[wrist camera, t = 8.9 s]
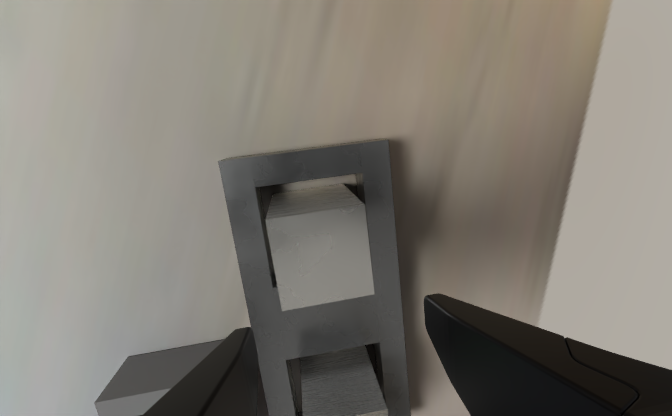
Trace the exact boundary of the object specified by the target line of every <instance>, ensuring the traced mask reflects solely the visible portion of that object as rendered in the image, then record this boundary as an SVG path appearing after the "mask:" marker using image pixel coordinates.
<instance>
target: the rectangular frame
mask: <svg viewBox="0 0 672 416" xmlns="http://www.w3.org/2000/svg"><path fill="white" fill-rule="evenodd" d="M218 163H219V168H220V173H221V178H222V183H223V188H224V193H225V198H226V203H227V208H228V213H229V218H230V223H231V228H232V233H233V238H234V243H235V248H236V253H237V258H238V263H239V268H240V273H241V278H242V283H243V288H244V293H245V298H246V303H247V308H248V313H249V318H250V323H251V328H252V330H253V333H254V338H255V343H256V348H257V353H258V363H259V368H260V373H261V378H262V383H263V388H264V393H265V398H266V403H267V408H268V413H269V416H303V411H301V412H299V411H298V405H297V399H296V393H295V388H294V382H293V376H292V370H291V365H290V359H294V358H300V357H305V356H310V355H315V354H321V353H326V352H331V351H336V350H342V349H347V348H352V347H357V346H363V345H368V344H373V343H374V350H375V360H376V369H377V378H378V384H379V387H380V390H381V393H382V396H383V398H384V401H385V404H386V407H387V411H388V416H411V412H410V400H409V387H408V375H407V363H406V351H405V338H404V326H403V314H402V302H401V289H400V277H399V265H398V253H397V240H396V228H395V216H394V204H393V191H392V179H391V167H390V155H389V143H388V140H387V139H375V140H367V141H359V142H351V143H343V144H336V145H328V146H320V147H312V148H304V149H296V150H289V151H281V152H273V153H265V154H257V155H249V156H241V157H234V158H226V159H223V160H220V161H218ZM349 174H356V180H357V190H358V199H359V200H360V201H361V202H363V203H364V204H365V211H366V220H367V229H368V239H369V248H370V257H371V266H372V275H373V285H374V295H368V296H363V297H357V298H352V299H346V300H341V301H335V302H330V303H324V304H319V305H313V306H308V307H302V308H297V309H291V310H286V311H282V309H281V303H280V298H279V292H278V287H277V281H276V276H275V273H274V267H273V262H272V256H271V250H270V244H269V239H268V233H267V227H266V221H265V216H264V210H263V204H262V198H261V193H260V187H262V186H269V185H276V184H283V183H291V182H298V181H305V180H313V179H320V178H327V177H335V176H342V175H349Z"/></svg>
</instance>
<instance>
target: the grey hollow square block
mask: <svg viewBox="0 0 672 416" xmlns="http://www.w3.org/2000/svg"><path fill="white" fill-rule="evenodd" d="M222 341H223V340H219V341H213V342H208V343H202V344H197V345H191V346H186V347H180V348H175V349H169V350H164V351H158V352H152V353H147V354H141V355H136V356H130V357H128V358H127V359H126V360H125V362H124V363H123V365H122V366H121V367H120V369H119V370H118V371H117V373H116V374H115V375H114V377H113V378H112V380H111V381H110V382H109V384H108V385H107V386H106V388H105V389H104V390H103V392H102V393H101V395H100V396H99V397H98V399H97V400H96V401H95V406H96V409H97V412H98V415H99V416H142V415H143V414H144V413H145V412H146V411H147V410H148V409H149V408H150V407H151V406H152V405H154V404H155V403H156V402H157V401H158V400H159V399H160V398H161V397H162V396H163V395H164V394H166V393H167V392H168V391H169V390H170V389H171V388H172V387H173V386H174V385H175V384H176V383H178V382H179V381H180V380H181V379H182V378H183V377H184V376H185V375H186V374H187V373H188V372H190V371H191V370H192V369H193V368H194V367H195V366H196V365H197V364H198V363H199V362H200V361H202V360H203V359H204V358H205V357H206V356H207V355H208V354H209V353H210V352H211V351H212V350H214V349H215V348H216V347H217V346H218V345H219V344H220V343H221V342H222Z"/></svg>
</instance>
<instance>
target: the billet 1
mask: <svg viewBox="0 0 672 416" xmlns="http://www.w3.org/2000/svg"><path fill="white" fill-rule="evenodd" d="M265 221H266V226H267V232H268V237H269V243H270V248H271V254H272V259H273V265H274V270H275V276H276V281H277V287H278V292H279V298H280V303H281V309H282V311H286V310H291V309H297V308H302V307H308V306H313V305H319V304H324V303H330V302H335V301H341V300H346V299H352V298H357V297H363V296H368V295H374V285H373V275H372V266H371V257H370V248H369V239H368V229H367V220H366V211H365V204H364V203H363V202H361V201H360V200H359V199H358V198H357V197H356V196H355V195H354V194H353V193H352V192H351V191H350V190H349V189H348V188H347V187H346V186H345V185H344V184H336V185H329V186H322V187H316V188H309V189H302V190H295V191H288V192H281V193H275V194H273V196H272V199H271V203H270V206H269V209H268V213H267V216H266V220H265Z"/></svg>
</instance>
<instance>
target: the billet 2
mask: <svg viewBox="0 0 672 416" xmlns="http://www.w3.org/2000/svg"><path fill="white" fill-rule="evenodd" d="M300 364H301V388H302V411H303V416H388V411H387V407H386V404H385V401H384V398H383V396H382V393H381V390H380V387H379V384H378V381H377V378H376V376H375V373H374V370H373V367H372V364H371V361H370V359H369V356H368V353H367V350H366V347H365V345H363V346H357V347H352V348H347V349H342V350H336V351H331V352H326V353H321V354H315V355H310V356H305V357H300Z"/></svg>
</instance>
